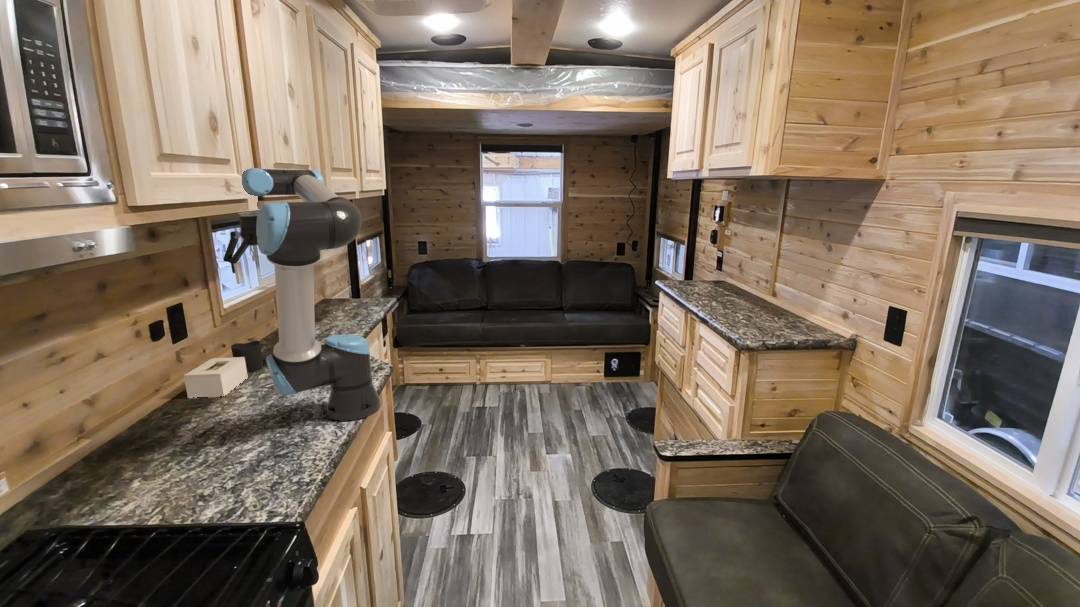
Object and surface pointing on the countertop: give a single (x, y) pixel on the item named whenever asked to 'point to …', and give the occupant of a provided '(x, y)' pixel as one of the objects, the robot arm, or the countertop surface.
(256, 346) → the pen holder
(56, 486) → the countertop surface
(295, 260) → the robot arm
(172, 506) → the countertop surface
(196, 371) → the box
